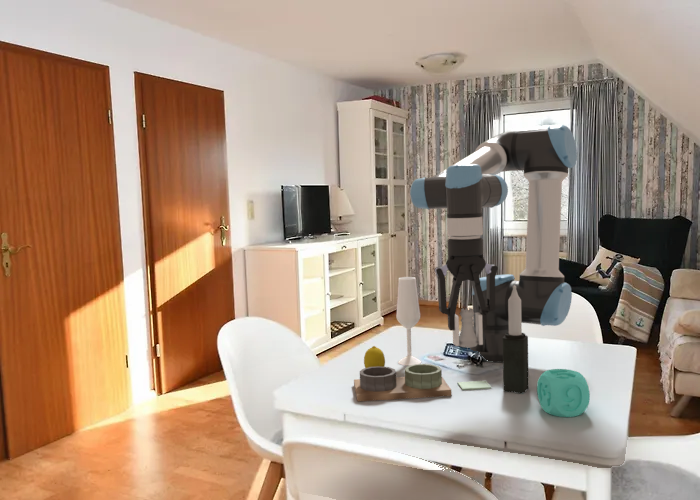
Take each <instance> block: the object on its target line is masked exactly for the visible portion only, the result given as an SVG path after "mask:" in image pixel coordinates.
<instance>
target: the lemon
mask: <svg viewBox="0 0 700 500" xmlns="http://www.w3.org/2000/svg"><path fill="white" fill-rule="evenodd" d="M363 358H364V359H363V365H364V368H368V367H378V366H382V367H386V366H385V365H386V359H385V355H384V352H383V350H381V349H380V348H379V347H377V346H375V345H374V346H371V347H369V348H368V349H367V350H366V351H365V354H364V357H363Z"/></svg>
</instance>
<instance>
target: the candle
mask: <svg viewBox="0 0 700 500" xmlns="http://www.w3.org/2000/svg"><path fill="white" fill-rule="evenodd" d="M508 316H509V332H507V333H505V336H504V337H503V362H502V371H503V372H502V378H503V379H502V380H503V381H502V384H503V388H502V389H503V391H504V392H506V393H512V394H513V393H515V394H525V393H526V392H527V390H529V388H530V387H529V336H528V335H526V333H525V332H522V330H523V329H522V323H521V299H520V297H519V296H518V293H517V290H516V286H515V285H514V286H513V291H512V294H511V296H510V298H509V299H508Z"/></svg>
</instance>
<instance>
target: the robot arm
mask: <svg viewBox="0 0 700 500" xmlns="http://www.w3.org/2000/svg"><path fill="white" fill-rule="evenodd" d="M577 160H578V150H577V144H576V140H575V137H574V134H573V132H572V130H571V129H570V128H569V127H568V126H567V125H565V124H558V125H557V124H548V125H542V126H541V125H540V126H534V127H533V126H532V127H527V128H526V127H525V128H524V127H523V128H514V129H510V130H507V131H503V132H502V133H499V134H497V135H495V136H492V137H491V138H489V139H487V140H485V141H483V142H482V143H480V144H479V145H478V146H477V147H476V148H475V150H474V152H472V153H471V154H469V155H467V156H465V157H464V158H462V159H460V160H458V161H457V162H455V163H453V164H452V165H449V166H448V167H447V168H444V169H443V170H442V171H440V172H438V173H437V174H435V175H432V176H430V177H427V176H424V177H422V178H416V179H415V180H413V182H412V183H411V186H410V192H409V194H410V195H409V196H410V200H411V203H412V204H413V206H414V207H415V208H416V209H421V210H423V209H424V210H425V209H426V210H437V209H438V210H439V209H446V226H447V227H446V229H447V230H446V231H447V234H446V235H447V236H448V237H450V238H448V239H447V260H446V263H445V264H444V265H442V266H439V267H438V266H436V267H435V268H434V272H435V275H436V277H437V292H438V293H437V294H438V298H437V299H438V310H439V311H440V312H441V313H442V314H443V315H447V327H448V330H450V331H452V344H453V345H454V346H455V347H460V346H459V336H460V323H459V322H460V321H459V319H460V317H459V315H458V314H456V312H457V311H456V310H457V305H458V302H459V296H460V291H461V286H462V284H463V282H464V281H470V283H471V286H472V293H471V296H472V309H473V312H474V313H475V314H474V315H473V320H474V321H473V329H474V333H475V334H476V336H477V339H478V340H477V342H478V344H477V346H475V347H467V349H468V348H470V349H471V350H473V351H478V352H480V354H481V355H482V356H483V357H484V358H485V359H486V360H488V361H493V362H492V363H503V337H504V336H505V333H507V332H509V316H508V299H509V298H510V296H511V294H512V291H513V286H514V285H515V286H516V290H517V293H518V296H519V297H520V299H521V324H530V325H541V326H542V327H546V326H552V327H556V326H560V325H561V324H562V323H564V322H565V320H567V317H568V314H569V312H570V309H571V304H572V296H573V292H572V286H571V285H570V284H569V283H567V282H565V275H564V274H563V273H562V272H561V271H560V243H561V215H562V190H563V189H562V188H563V185H562V184H563V181H564V180H566V178H567V177H568V176H569V169H572V168H574V167H575V166H576V165H577ZM515 171H520V172H521V171H523V177H524V178H525V179H526V180H527V181H528V201H527V203H528V204H527V219H526V220H527V223H526V224H527V225H526V226H527V227H526V249H525V250H526V251H525V268H524V269H523V270H522V271H521V272H520V273H519V280H516V279H515V275H514V274H512V273H511V274H510V273H509V274H508V273H506V274H497V272H498V270H499V267H498V266H497V265H495V264H492V263H491V264H489V263H487V261H486V260H485V257H484V239H483V237H481V236H483V234H484V229H483V228H484V226H483V225H484V223H483V222H484V221H483V209H485V208H491V209H492V208H494V207H497V206H499V205H501V204H503V203H504V202H505V200H506V199H507V197H508V192H509V189H508V188H509V187H508V184H507V182H506V180H505V179H504V178H503V177H502V176H501V175H498V174H500V173H502V172H515ZM483 270H484V272H485V273H486V275H485V276H483V277H480V275H481V273H482V272H483ZM448 271H449V273H450V274H451V275H452V280H451V281H452V285H451V290H450V295H449V301H448V306H447V286H446V285H447V283H446V282H447V281H446V277H447V273H448Z"/></svg>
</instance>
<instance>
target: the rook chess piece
mask: <svg viewBox="0 0 700 500" xmlns="http://www.w3.org/2000/svg"><path fill="white" fill-rule="evenodd" d="M474 314H475V313H474V312H473V307H472V308H471V307H470V308H468V307H465V308H464V307H463V308H460V312H459V315H460V316H461V319H460V322H461V329H460V332H459V346H458V347H461V348H468V347H475V346H477V344H478V342H477V340H478V339H477V336H476V334H475V333H474V329H473V321H474V320H473V315H474Z"/></svg>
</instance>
